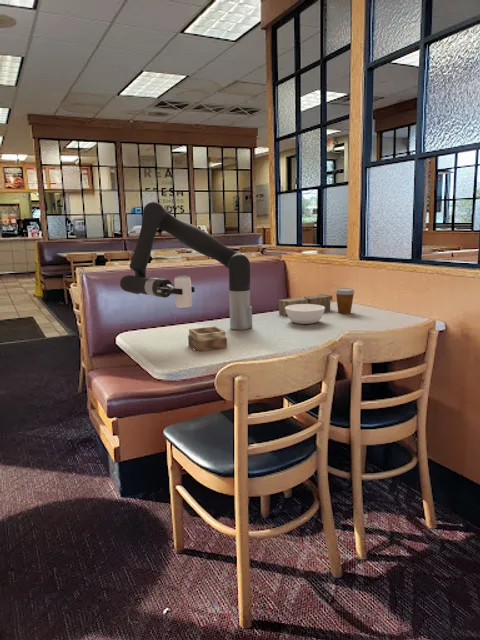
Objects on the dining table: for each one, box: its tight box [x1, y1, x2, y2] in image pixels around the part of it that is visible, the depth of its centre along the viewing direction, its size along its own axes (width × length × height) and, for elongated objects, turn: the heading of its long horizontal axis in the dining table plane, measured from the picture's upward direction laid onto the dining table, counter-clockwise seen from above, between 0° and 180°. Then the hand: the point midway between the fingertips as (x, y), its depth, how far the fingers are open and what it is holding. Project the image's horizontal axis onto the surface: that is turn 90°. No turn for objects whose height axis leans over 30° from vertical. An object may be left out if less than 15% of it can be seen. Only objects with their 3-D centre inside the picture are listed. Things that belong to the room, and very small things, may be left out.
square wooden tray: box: [188, 325, 227, 341], centre depth 188 cm, size 11×11×2 cm
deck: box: [187, 335, 228, 352], centre depth 189 cm, size 12×11×4 cm
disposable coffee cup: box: [335, 287, 355, 315], centre depth 246 cm, size 10×10×12 cm
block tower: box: [278, 293, 333, 316], centre depth 252 cm, size 8×8×29 cm
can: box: [173, 275, 193, 310], centre depth 189 cm, size 6×6×12 cm
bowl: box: [285, 304, 325, 325], centre depth 227 cm, size 18×18×7 cm
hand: (187, 290), depth 187 cm, fingers closed on can, 6 cm apart
